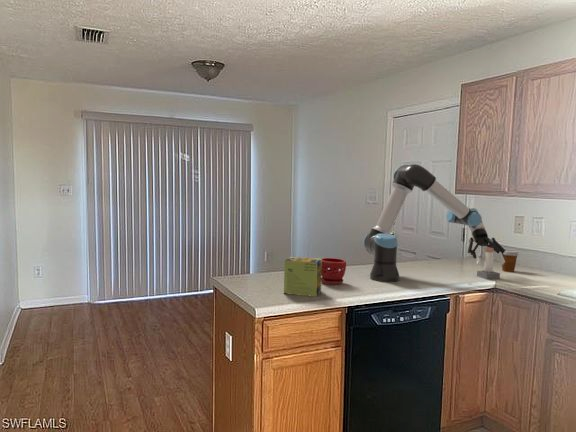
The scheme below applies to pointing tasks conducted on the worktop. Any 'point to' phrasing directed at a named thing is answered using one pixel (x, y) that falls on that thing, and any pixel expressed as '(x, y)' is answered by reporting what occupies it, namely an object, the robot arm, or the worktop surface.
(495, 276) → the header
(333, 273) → the plant pot
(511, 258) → the disposable coffee cup
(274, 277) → the worktop surface
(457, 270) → the worktop surface
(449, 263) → the worktop surface
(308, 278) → the protein box
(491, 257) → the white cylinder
